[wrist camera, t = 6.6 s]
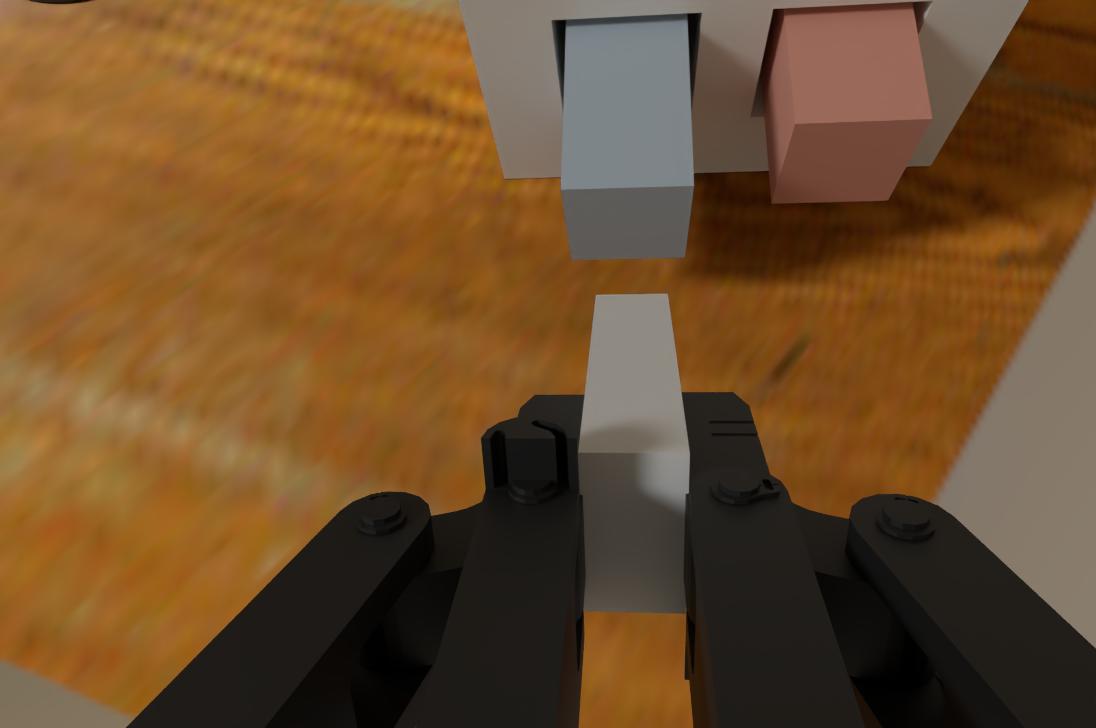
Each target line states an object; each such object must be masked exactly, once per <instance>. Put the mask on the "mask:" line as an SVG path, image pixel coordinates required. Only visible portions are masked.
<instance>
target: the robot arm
mask: <svg viewBox="0 0 1096 728" xmlns="http://www.w3.org/2000/svg"><path fill="white" fill-rule="evenodd" d="M31 1H38V2H68V1H76V0H31ZM481 443H482V454H483V464H484V475H485V485H486V490H485V494H484V497H483V501H482V502H480V503H479V504H476V505H474V506H472V507H469V508H467V509H463V510H459V511H455V512H450V513H445V514H440V515H434V516H431V513H430V509H429V504H427V503H426V502H425V501H424V500H423V499H422V498H420V497H419V496H416V495H412V494H409V493H406V492H381V493H375V494H371V495H368V496H366V497H363V498H361V499H358V500H356V501H353V502H352V503H350V504H349V505H348V506H346V507H345V508H344V509H342V510H341V511H340V512H339V513H338V514H337V515H336V516H335V517H334V518H333V519H332V520H331V521H330V522H329V523H328V524H327V525H326V526H325V527H324V528H323V529H322V530H321V531H320V532H319V533H318V534H317V535H316V536H315V537H314V538H313V539H312V540H311V541H310V542H309V543H308V544H307V545H306V546H305V547H304V548H303V549H302V550H301V551H300V552H299V553H298V554H297V555H296V556H295V557H294V558H293V559H292V560H291V561H290V562H289V563H288V564H287V565H286V566H285V567H284V568H283V569H282V570H281V571H280V572H279V573H278V574H277V575H276V576H275V577H274V578H273V579H272V580H271V581H270V582H269V583H268V584H267V585H266V587H265V588H264V589H263V590H262V591H261V592H260V593H259V594H258V595H257V596H256V597H255V598H254V599H253V600H252V601H251V602H250V603H249V604H248V605H247V606H246V607H245V608H244V609H243V610H242V611H241V612H240V613H239V614H238V615H237V616H236V617H235V618H234V619H233V620H232V621H231V622H230V623H229V624H228V625H227V626H226V627H225V628H224V629H223V630H222V631H221V632H220V633H219V634H218V635H217V636H216V637H215V638H214V639H213V640H212V641H211V642H210V643H209V644H208V645H207V646H206V647H205V648H204V649H203V650H202V651H201V652H200V653H199V654H198V655H197V656H196V657H195V658H194V659H193V660H192V661H191V662H190V663H189V664H188V665H187V666H186V667H185V668H184V669H183V670H182V671H181V673H180V674H179V675H178V676H177V677H176V678H175V679H174V680H173V681H172V682H171V683H170V684H169V685H168V686H167V687H166V688H165V689H164V690H163V691H162V692H161V693H160V694H159V695H158V696H157V697H156V698H155V699H154V700H153V701H152V702H151V703H150V704H149V705H148V706H147V707H146V708H145V709H144V710H143V711H142V712H141V713H140V714H139V715H138V716H137V717H136V718H135V719H134V720H133V721H132V722H131V723H130V724H129V725H128V726H127V727H126V728H415V727H416V728H578V726H579V711H580V695H581V680H582V665H583V650H584V612H583V607H584V611H604V612H643V613H682V614H685V612H686V647H685V680H689V681H690V693H691V704H692V716H693V727H694V728H1096V648H1094V647H1093V646H1092V645H1091V644H1090V643H1089V642H1088V641H1087V640H1086V639H1085V638H1084V637H1083V636H1082V635H1081V634H1080V633H1078V632H1077V631H1076V630H1075V629H1074V628H1073V627H1072V626H1071V625H1070V624H1069V623H1068V622H1066V620H1064V619H1063V618H1062V617H1061V616H1060V615H1059V614H1058V613H1057V612H1056V611H1055V610H1054V609H1053V608H1052V607H1051V606H1049V605H1048V604H1047V603H1046V602H1045V601H1044V600H1043V599H1042V598H1041V597H1040V596H1038V594H1036V593H1035V592H1034V591H1033V590H1032V589H1031V588H1030V587H1029V586H1028V585H1027V584H1026V583H1025V582H1024V581H1023V580H1022V579H1020V578H1019V577H1018V576H1017V575H1016V574H1015V573H1014V572H1013V571H1012V570H1011V569H1010V568H1009V567H1007V566H1006V565H1005V564H1004V563H1003V562H1002V561H1001V560H1000V559H999V558H998V557H997V556H996V555H995V554H994V553H993V552H991V551H990V550H989V549H988V548H987V547H986V546H985V545H984V544H983V543H981V541H980V540H979V539H977V538H976V537H975V536H974V535H973V534H972V533H971V532H970V531H969V530H968V529H967V528H966V527H964V525H962V524H961V523H960V522H959V521H958V520H957V519H956V518H955V517H954V516H952V515H951V514H950V513H948V512H946V511H945V510H944V509H942V508H941V507H939V506H938V505H935V504H932V503H930V502H927V501H925V500H922V499H920V498H917V497H913V496H909V495H908V496H905V495H901V494H877V495H874V496H870V497H866V498H863V499H861V500H860V501H858V502H857V503H856V504H855V505H853V506H852V508H851V513H850V517H849V519H846V518H841V517H836V516H831V515H826V514H822V513H818V512H814V511H811V510H807V509H805V508H803V507H800V506H798V505H796V504H794V503H792V502H791V499H790V496H789V493H788V491H787V489H786V488H785V486H784V485H783V484H782V482H781V481H780V480H778V479H776V478H775V477H773V476H772V475H770V473H769V469H768V466H767V463H766V460H765V456H764V453H763V450H762V447H761V443H760V440H759V437H758V436H757V430H756V427H755V424H754V420H753V417H752V414H751V411H750V407H749V405H748V404H746V403H745V402H744V401H743V400H742V399H740V398H739V397H738V396H737V395H736V394H734V393H733V392H681V386H680V379H679V372H678V364H677V357H676V350H675V343H674V336H673V329H672V321H671V314H670V307H669V300H668V294H618V295H596V300H595V308H594V317H593V326H592V335H591V343H590V352H589V361H588V370H587V379H586V387H585V395H534V396H533V397H532V398H531V399H530V400H529V401H528V402H526V403H525V404H524V405H523V406H522V407H521V408H520V411H519V414H518V417H517V418H513V419H509V420H506V421H502V422H499V423H498V424H496V425H494V426H493V427H491V428H489V429H488V430H487V431H486V432H485V434H484V435H483V436H482V438H481ZM686 608H687V611H686ZM416 725H417V726H416Z"/></svg>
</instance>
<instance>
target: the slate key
mask: <svg viewBox="0 0 1096 728" xmlns="http://www.w3.org/2000/svg"><path fill="white" fill-rule="evenodd" d="M693 191H694V170H693V145H692V120H691V95H690V70H689V45H688V19H687V13H683V14H664V15H644V16H625V17H605V18H586V19H566V40H565V73H564V105H563V138H562V171H561V193H562V200H563V207H564V214H565V220H566V227H567V234H568V240H569V247H570V254H571V260H586V259H637V258H685V253H686V246H687V238H688V230H689V222H690V214H691V206H692V199H693Z"/></svg>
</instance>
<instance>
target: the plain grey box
mask: <svg viewBox="0 0 1096 728" xmlns="http://www.w3.org/2000/svg"><path fill="white" fill-rule="evenodd" d="M1028 1H1029V0H458V2H459V5H460V9H461V13H462V17H463V21H464V25H465V28H466V32H467V36H468V40H469V44H470V48H471V52H472V55H473V59H474V63H475V67H476V71H477V75H478V78H479V82H480V86H481V90H482V94H483V98H484V101H485V105H486V109H487V113H488V117H489V121H490V124H491V128H492V132H493V136H494V140H495V144H496V147H497V151H498V155H499V159H500V163H501V167H502V170H503V174H504V178H505V179H518V178H551V177H561V171H562V138H563V105H564V73H565V40H566V19H586V18H605V17H625V16H644V15H664V14H683V13H687V19H688V45H689V70H690V95H691V120H692V145H693V170H694V173H716V172H749V171H769V168H768V155H767V143H766V130H765V118H764V105H763V93H762V80H761V64H762V60H763V55H764V50H765V45H766V41H767V36H768V31H769V27H770V22H771V17H772V13H773V9H781V8H801V7H820V6H840V5H859V4H879V3H898V2H912V3H913V9H914V15H915V20H916V26H917V32H918V38H919V44H920V50H921V55H922V61H923V67H924V73H925V79H926V84H927V90H928V96H929V102H930V108H931V114H932V121H931V122H930V124H929V126H928V128H927V130H926V132H925V133H924V135H923V137H922V139H921V141H920V143H919V144H918V146H917V148H916V150H915V152H914V154H913V155H912V157H911V159H910V161H909V163H908V165H907V166H906V167H913V166H931V165H932V163H933V161H934V160H935V158H936V156H937V155H938V153H939V151H940V149H941V148H942V146H943V144H944V143H945V141H946V139H947V138H948V136H949V134H950V133H951V131H952V129H953V128H954V126H955V124H956V122H957V121H958V119H959V117H960V116H961V114H962V112H963V111H964V109H965V107H966V106H967V104H968V102H969V101H970V99H971V97H972V96H973V94H974V92H975V90H976V89H977V87H978V85H979V84H980V82H981V80H982V79H983V77H984V75H985V74H986V72H987V70H988V69H989V67H990V65H991V63H992V62H993V60H994V58H995V57H996V55H997V53H998V52H999V50H1000V48H1001V47H1002V45H1003V43H1004V42H1005V40H1006V38H1007V36H1008V35H1009V33H1010V31H1011V30H1012V28H1013V26H1014V25H1015V23H1016V21H1017V20H1018V18H1019V16H1020V15H1021V13H1022V11H1023V10H1024V8H1025V6H1026V4H1027V3H1028Z"/></svg>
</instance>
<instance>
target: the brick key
mask: <svg viewBox="0 0 1096 728" xmlns="http://www.w3.org/2000/svg"><path fill="white" fill-rule="evenodd" d="M761 80H762V93H763V105H764V118H765V130H766V143H767V155H768V168H769V180H770V193H771V204H777V203H815V202H854V201H888V199H889V198H890V196H891V194H892V192H893V190H894V188H895V187H896V185H897V183H898V181H899V179H900V177H901V176H902V174H903V172H904V170H905V168H906V166H907V165H908V163H909V161H910V159H911V157H912V155H913V154H914V152H915V150H916V148H917V146H918V144H919V143H920V141H921V139H922V137H923V135H924V133H925V132H926V130H927V128H928V126H929V124H930V122H931V121H932V114H931V108H930V102H929V96H928V90H927V84H926V79H925V73H924V67H923V61H922V55H921V50H920V44H919V38H918V32H917V26H916V20H915V15H914V9H913V3H912V2H898V3H879V4H859V5H840V6H820V7H801V8H781V9H773V13H772V17H771V22H770V27H769V31H768V36H767V41H766V45H765V50H764V55H763V60H762V64H761Z"/></svg>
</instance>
